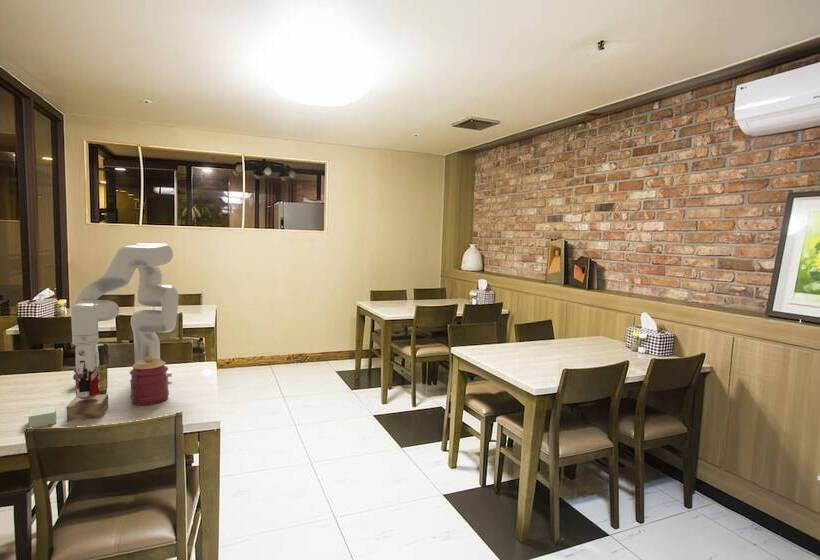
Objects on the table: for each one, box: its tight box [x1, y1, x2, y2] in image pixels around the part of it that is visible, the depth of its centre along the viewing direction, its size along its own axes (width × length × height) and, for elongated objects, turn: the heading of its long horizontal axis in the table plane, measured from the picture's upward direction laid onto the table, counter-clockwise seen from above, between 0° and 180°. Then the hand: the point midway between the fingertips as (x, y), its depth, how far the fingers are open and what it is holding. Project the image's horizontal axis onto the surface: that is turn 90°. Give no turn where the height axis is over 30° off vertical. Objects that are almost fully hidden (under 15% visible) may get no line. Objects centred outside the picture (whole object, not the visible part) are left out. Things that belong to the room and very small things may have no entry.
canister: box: [129, 355, 170, 406], centre depth 177 cm, size 13×13×18 cm
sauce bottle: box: [97, 343, 108, 395], centre depth 182 cm, size 7×6×20 cm
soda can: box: [74, 366, 99, 399], centre depth 161 cm, size 7×7×12 cm
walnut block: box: [66, 393, 109, 422], centre depth 162 cm, size 10×10×5 cm
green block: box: [27, 405, 57, 429], centre depth 154 cm, size 7×7×4 cm
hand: (87, 387), depth 162 cm, fingers closed on soda can, 6 cm apart
